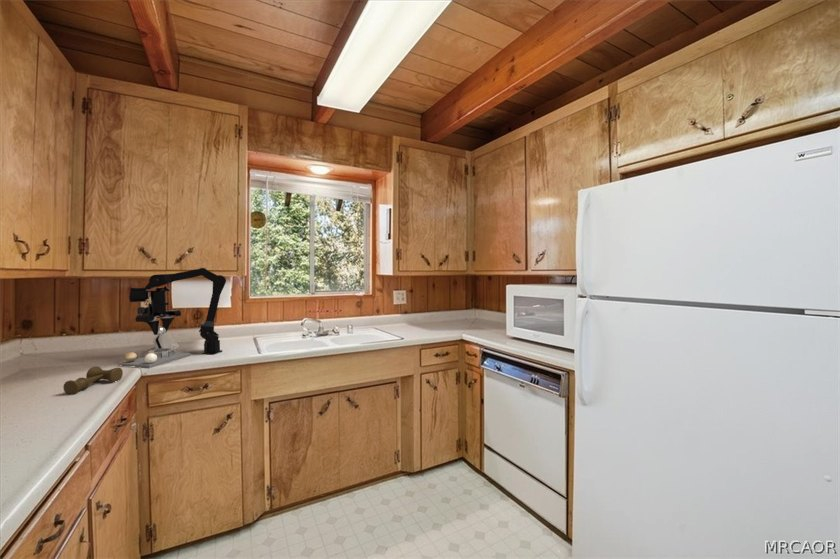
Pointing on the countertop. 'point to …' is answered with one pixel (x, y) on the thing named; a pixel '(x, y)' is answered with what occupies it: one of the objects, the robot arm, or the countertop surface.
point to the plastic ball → (150, 358)
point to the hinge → (164, 341)
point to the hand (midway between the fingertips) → (160, 333)
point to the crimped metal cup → (163, 352)
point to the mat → (141, 361)
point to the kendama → (92, 379)
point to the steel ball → (161, 331)
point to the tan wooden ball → (130, 357)
